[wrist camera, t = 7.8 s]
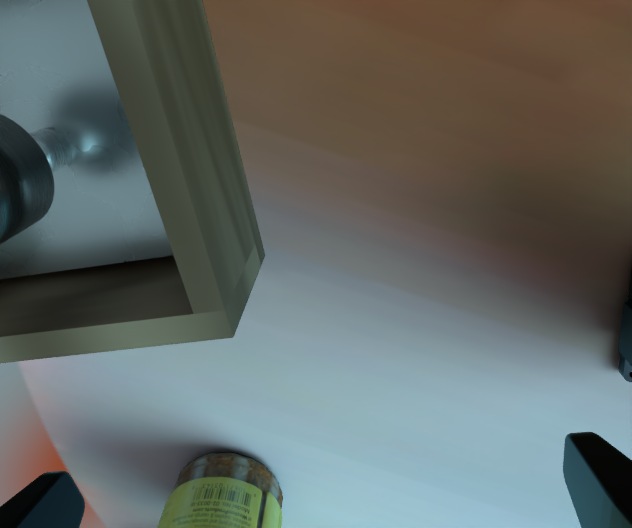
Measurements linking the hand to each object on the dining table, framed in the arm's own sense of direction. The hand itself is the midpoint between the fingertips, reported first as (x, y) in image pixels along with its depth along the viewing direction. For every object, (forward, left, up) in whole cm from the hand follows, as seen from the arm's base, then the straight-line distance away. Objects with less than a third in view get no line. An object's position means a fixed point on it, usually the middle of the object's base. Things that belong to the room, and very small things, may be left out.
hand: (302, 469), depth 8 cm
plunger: (+9, -5, -11) cm, 15 cm away
